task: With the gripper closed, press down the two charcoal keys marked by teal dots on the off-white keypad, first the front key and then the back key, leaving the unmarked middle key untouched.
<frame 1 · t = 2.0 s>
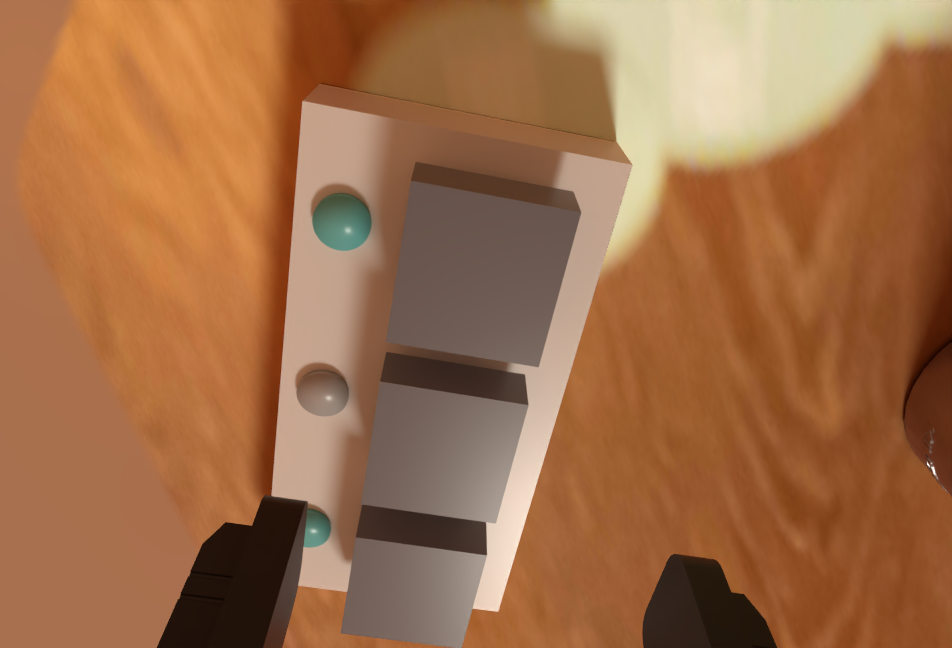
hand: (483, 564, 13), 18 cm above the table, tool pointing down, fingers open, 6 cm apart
middle key: (442, 439, 27), point 5 cm above the table, slide at 0.0 cm
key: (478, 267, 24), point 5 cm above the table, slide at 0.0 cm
keypad: (423, 366, 32), on the table
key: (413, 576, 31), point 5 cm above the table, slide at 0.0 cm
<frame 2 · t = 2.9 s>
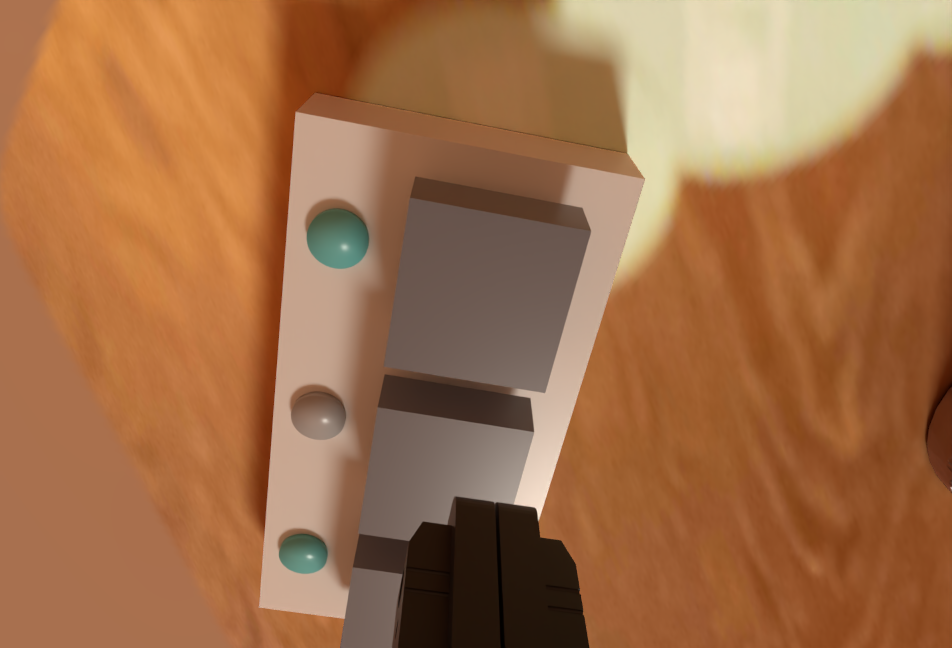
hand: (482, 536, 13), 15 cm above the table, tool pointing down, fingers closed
middle key: (443, 466, 26), point 5 cm above the table, slide at 0.0 cm
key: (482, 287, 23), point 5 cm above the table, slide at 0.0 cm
keypad: (424, 385, 30), on the table
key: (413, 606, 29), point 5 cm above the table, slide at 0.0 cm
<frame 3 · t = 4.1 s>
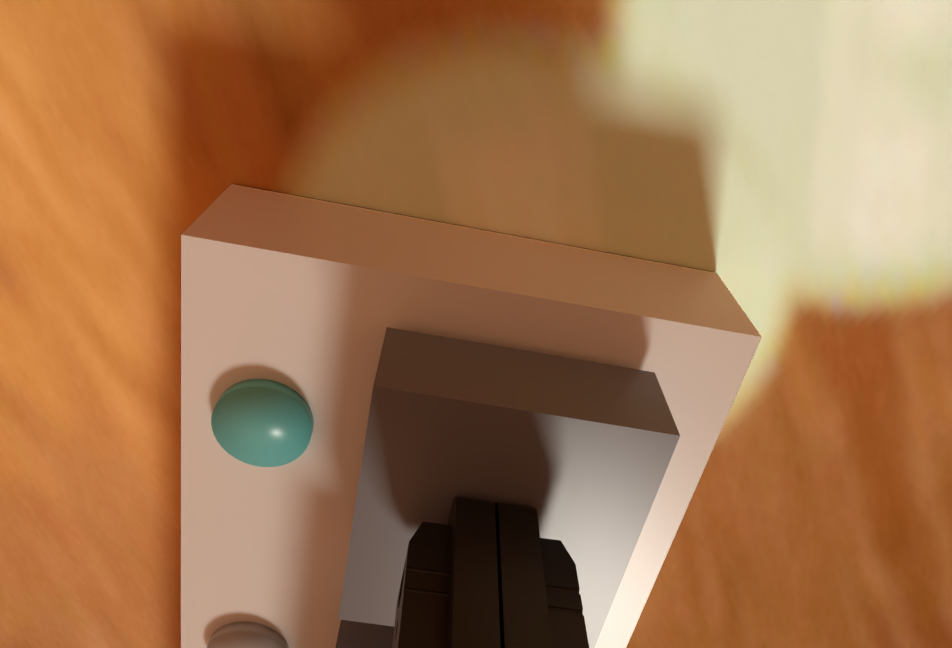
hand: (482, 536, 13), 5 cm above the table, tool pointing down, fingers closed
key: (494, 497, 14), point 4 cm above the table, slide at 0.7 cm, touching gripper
keypad: (408, 576, 21), on the table
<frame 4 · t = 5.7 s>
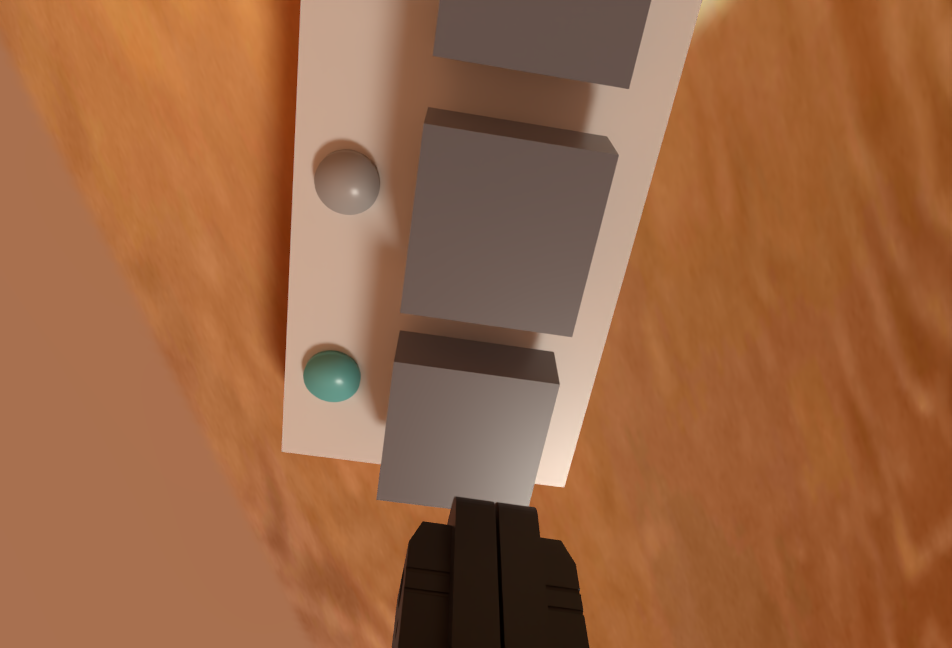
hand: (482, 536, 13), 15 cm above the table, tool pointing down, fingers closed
middle key: (502, 225, 21), point 5 cm above the table, slide at 0.0 cm
keypad: (469, 172, 26), on the table
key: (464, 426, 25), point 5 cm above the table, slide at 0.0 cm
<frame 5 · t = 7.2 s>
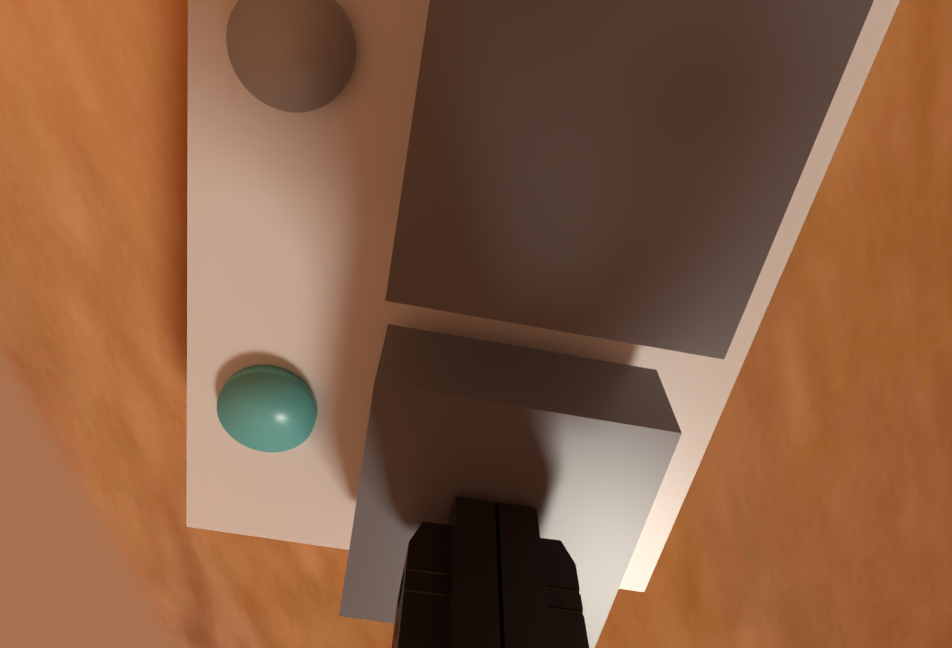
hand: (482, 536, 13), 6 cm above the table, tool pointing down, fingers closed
middle key: (599, 129, 10), point 5 cm above the table, slide at 0.0 cm
keypad: (515, 62, 15), on the table
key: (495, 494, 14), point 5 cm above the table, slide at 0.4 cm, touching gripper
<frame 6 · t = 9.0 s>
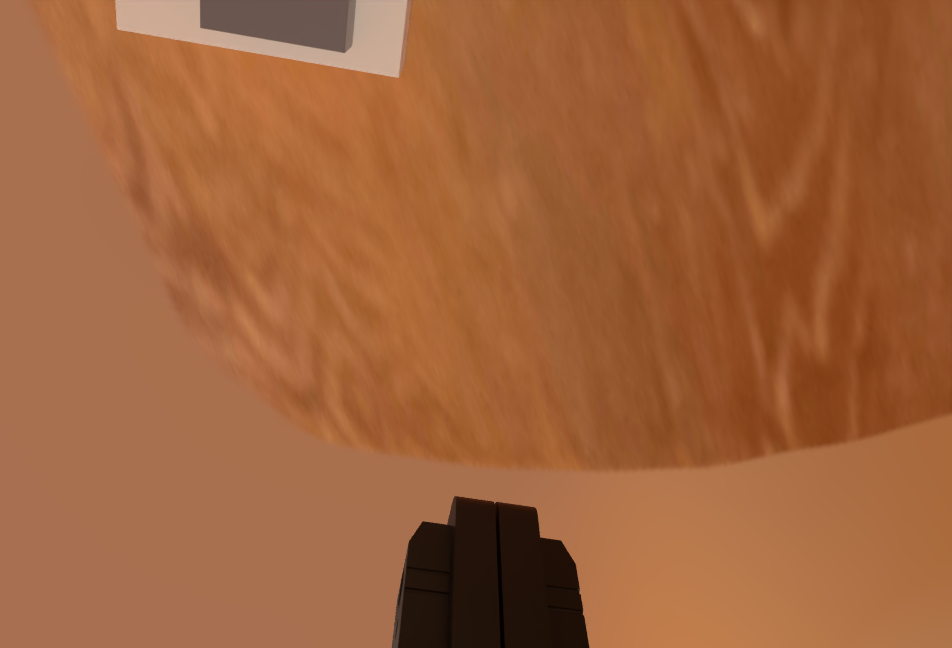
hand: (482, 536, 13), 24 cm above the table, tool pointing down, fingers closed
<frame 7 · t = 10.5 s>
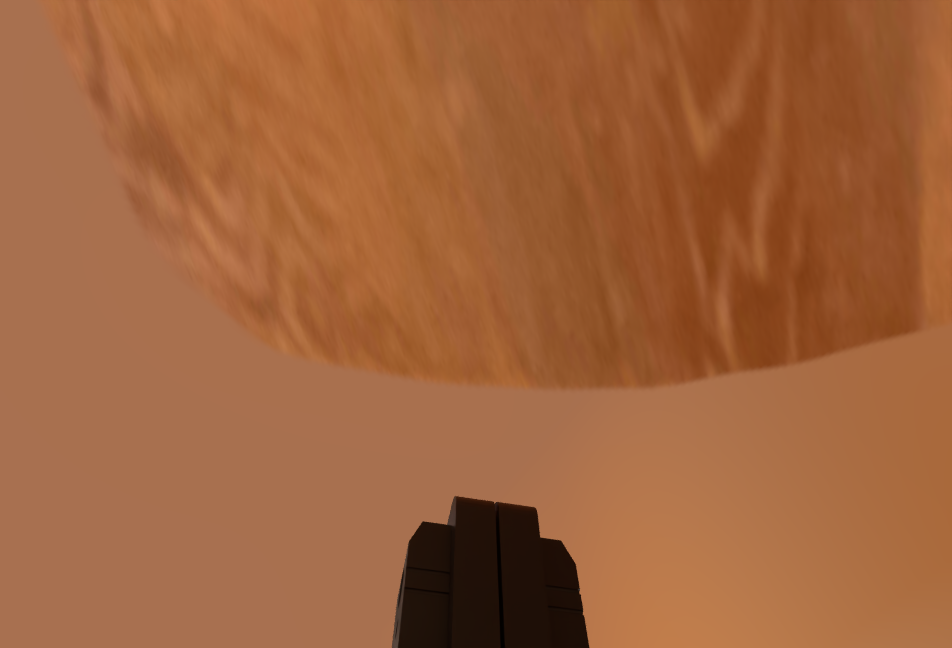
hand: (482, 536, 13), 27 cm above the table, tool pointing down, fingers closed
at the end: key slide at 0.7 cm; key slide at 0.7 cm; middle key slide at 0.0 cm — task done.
